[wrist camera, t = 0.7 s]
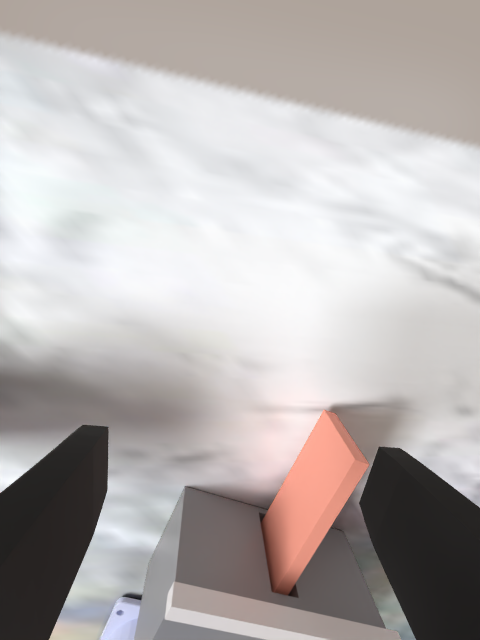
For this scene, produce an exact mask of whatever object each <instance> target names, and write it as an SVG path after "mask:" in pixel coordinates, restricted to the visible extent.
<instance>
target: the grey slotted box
mask: <svg viewBox="0 0 480 640" xmlns="http://www.w3.org/2000/svg"><path fill="white" fill-rule="evenodd" d="M267 511H268V510H266V509H263V508H259V507H255V506H252V505H248V504H245V503H241V502H238V501H234V500H231V499H227V498H224V497H220V496H217V495H213V494H210V493H206V492H203V491H199V490H196V489H192V488H189V487H185V488H184V490H183V492H182V494H181V496H180V498H179V500H178V502H177V505H176V507H175V509H174V511H173V513H172V515H171V517H170V519H169V522H168V524H167V526H166V528H165V530H164V532H163V534H162V536H161V539H160V541H159V543H158V545H157V547H156V549H155V551H154V553H153V556H152V558H151V560H150V562H149V564H148V568H147V574H146V579H145V584H144V589H143V595H142V600H141V605H140V610H139V616H138V621H137V626H136V631H135V637H134V640H401V638H400V636H399V633H398V631H393V630H389V629H386V628H385V625H384V623H383V621H382V618H381V616H380V614H379V612H378V609H377V607H376V605H375V602H374V600H373V598H372V595H371V593H370V591H369V589H368V586H367V584H366V582H365V579H364V577H363V575H362V572H361V570H360V568H359V566H358V563H357V561H356V559H355V556H354V554H353V552H352V550H351V547H350V545H349V543H348V540H347V538H346V536H345V533H344V532H343V531H340V530H336V529H333V528H330V529H329V530H328V532H327V533H326V535H325V537H324V538H323V540H322V541H321V543H320V545H319V546H318V548H317V549H316V551H315V553H314V554H313V556H312V557H311V559H310V561H309V562H308V564H307V565H306V567H305V569H304V570H303V572H302V573H301V575H300V577H299V578H298V580H297V581H296V583H295V585H294V586H293V588H292V590H291V591H290V593H289V594H288V596H287V595H283V594H279V593H274V592H272V590H271V584H270V578H269V572H268V565H267V559H266V553H265V547H264V541H263V535H262V529H261V522H262V520H263V518H264V517H265V515H266V513H267Z"/></svg>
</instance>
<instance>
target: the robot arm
mask: <svg viewBox="0 0 480 640" xmlns="http://www.w3.org/2000/svg"><path fill="white" fill-rule="evenodd" d="M107 481H108V427H104V426H91V425H82V426H81V427H80V428H78V429H77V430H76V431H75V432H73V433H72V434H71V435H70V436H69V437H68V438H66V439H65V440H64V441H63V442H62V443H60V444H59V445H58V446H57V447H56V448H55V449H53V450H52V451H51V452H50V453H49V454H48V455H46V456H45V457H44V458H43V459H42V460H40V461H39V462H38V463H37V464H36V465H34V466H33V467H32V468H31V469H30V470H28V471H27V472H26V473H25V474H23V475H22V476H21V477H20V478H18V479H17V480H16V481H15V482H14V483H12V484H11V485H10V486H9V487H7V488H6V489H5V490H4V491H2V492H1V493H0V640H49V638H50V636H51V633H52V631H53V629H54V626H55V624H56V622H57V619H58V617H59V615H60V612H61V610H62V608H63V605H64V603H65V601H66V598H67V596H68V594H69V591H70V589H71V587H72V584H73V582H74V580H75V577H76V575H77V572H78V570H79V568H80V565H81V563H82V561H83V558H84V556H85V554H86V551H87V549H88V546H89V544H90V542H91V539H92V537H93V534H94V531H95V528H96V525H97V522H98V519H99V516H100V513H101V509H102V506H103V503H104V499H105V496H106V493H107ZM359 504H360V507H361V510H362V513H363V517H364V520H365V523H366V526H367V529H368V532H369V535H370V538H371V541H372V543H373V546H374V548H375V551H376V553H377V555H378V557H379V560H380V562H381V564H382V566H383V568H384V571H385V573H386V575H387V577H388V579H389V582H390V584H391V586H392V588H393V590H394V593H395V595H396V597H397V599H398V601H399V603H400V606H401V608H402V610H403V612H404V614H405V616H406V619H407V621H408V623H409V625H410V627H411V629H412V632H413V634H414V636H415V638H416V640H480V508H479V507H478V506H477V505H475V504H474V503H473V502H471V501H470V500H469V499H468V498H466V497H465V496H464V495H462V494H461V493H460V492H458V491H457V490H456V489H454V488H453V487H452V486H451V485H449V484H448V483H447V482H445V481H444V480H443V479H441V478H440V477H439V476H438V475H436V474H435V473H434V472H432V471H431V470H430V469H428V468H427V467H426V466H424V465H423V464H422V463H420V462H419V461H418V460H416V459H415V458H413V457H412V456H411V455H409V454H408V453H406V452H405V451H403V450H402V449H400V448H390V447H379V449H378V451H377V454H376V457H375V460H374V463H373V466H372V468H371V471H370V474H369V477H368V480H367V483H366V485H365V488H364V491H363V494H362V497H361V500H360V502H359ZM140 605H141V600H137V599H133V598H128V597H121V598H119V599H118V600H117V602H116V604H115V606H114V608H113V611H112V613H111V615H110V617H109V619H108V622H107V624H106V626H105V628H104V630H103V632H102V635H101V637H100V639H99V640H134V637H135V631H136V626H137V621H138V616H139V610H140Z"/></svg>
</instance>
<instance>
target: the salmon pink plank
mask: <svg viewBox="0 0 480 640" xmlns="http://www.w3.org/2000/svg"><path fill="white" fill-rule="evenodd" d="M368 466H369V463H368V462H367V460H366V459H365V457H364V456H363V454H362V453H361V451H360V450H359V448H358V447H357V445H356V444H355V442H354V441H353V439H352V438H351V436H350V435H349V433H348V432H347V430H346V429H345V427H344V426H343V424H342V423H341V421H340V420H339V418H338V417H337V415H336V414H335V413H332V412H329V411H326V410H324V411H323V413H322V414H321V416H320V418H319V420H318V421H317V423H316V425H315V427H314V429H313V430H312V432H311V434H310V436H309V438H308V439H307V441H306V443H305V445H304V447H303V448H302V450H301V452H300V454H299V456H298V457H297V459H296V461H295V463H294V465H293V466H292V468H291V470H290V472H289V474H288V475H287V477H286V479H285V481H284V483H283V484H282V486H281V488H280V490H279V491H278V493H277V495H276V497H275V499H274V500H273V502H272V504H271V506H270V508H269V509H268V511H267V513H266V515H265V517H264V518H263V520H262V522H261V529H262V535H263V541H264V547H265V553H266V559H267V565H268V572H269V578H270V584H271V590H272V592H274V593H279V594H283V595H287V596H288V594H289V593H290V591H291V590H292V588H293V586H294V585H295V583H296V581H297V580H298V578H299V577H300V575H301V573H302V572H303V570H304V569H305V567H306V565H307V564H308V562H309V561H310V559H311V557H312V556H313V554H314V553H315V551H316V549H317V548H318V546H319V545H320V543H321V541H322V540H323V538H324V537H325V535H326V533H327V532H328V530H329V529H330V527H331V525H332V524H333V522H334V521H335V519H336V517H337V516H338V514H339V513H340V511H341V509H342V508H343V506H344V505H345V503H346V501H347V500H348V498H349V497H350V495H351V493H352V492H353V490H354V489H355V487H356V485H357V484H358V482H359V481H360V479H361V477H362V476H363V474H364V473H365V471H366V469H367V468H368Z"/></svg>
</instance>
